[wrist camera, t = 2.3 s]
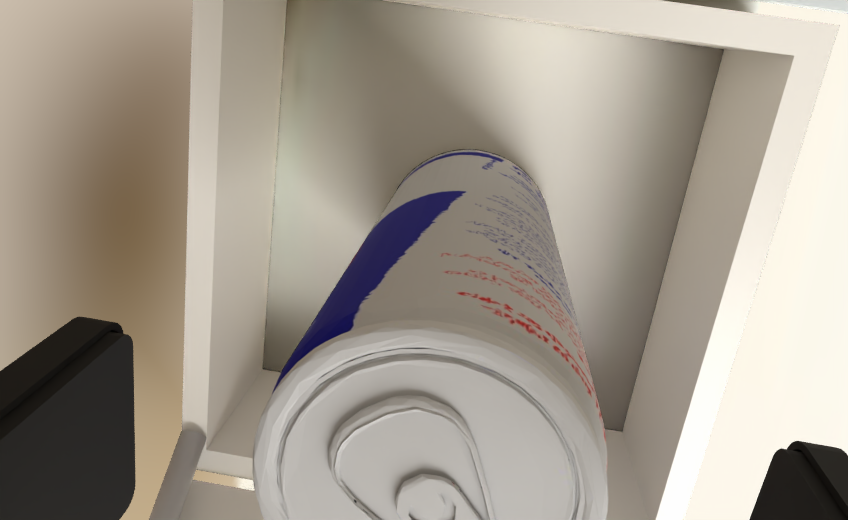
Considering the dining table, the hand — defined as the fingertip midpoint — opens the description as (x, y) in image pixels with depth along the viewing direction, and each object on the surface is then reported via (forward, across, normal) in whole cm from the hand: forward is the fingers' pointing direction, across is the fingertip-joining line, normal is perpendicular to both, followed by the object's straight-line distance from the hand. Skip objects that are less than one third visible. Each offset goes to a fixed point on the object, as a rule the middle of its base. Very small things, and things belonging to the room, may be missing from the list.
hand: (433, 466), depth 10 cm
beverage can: (+15, 0, +1) cm, 15 cm away
